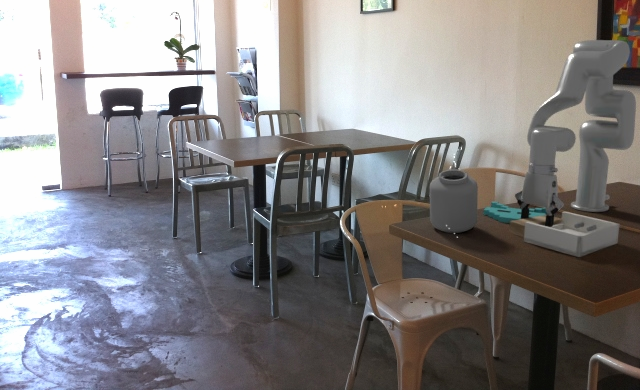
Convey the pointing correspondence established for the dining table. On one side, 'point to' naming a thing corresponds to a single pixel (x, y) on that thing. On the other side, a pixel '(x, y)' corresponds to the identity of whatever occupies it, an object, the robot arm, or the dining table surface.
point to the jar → (453, 201)
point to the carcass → (573, 234)
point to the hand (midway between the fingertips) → (536, 223)
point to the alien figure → (510, 212)
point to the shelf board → (519, 225)
